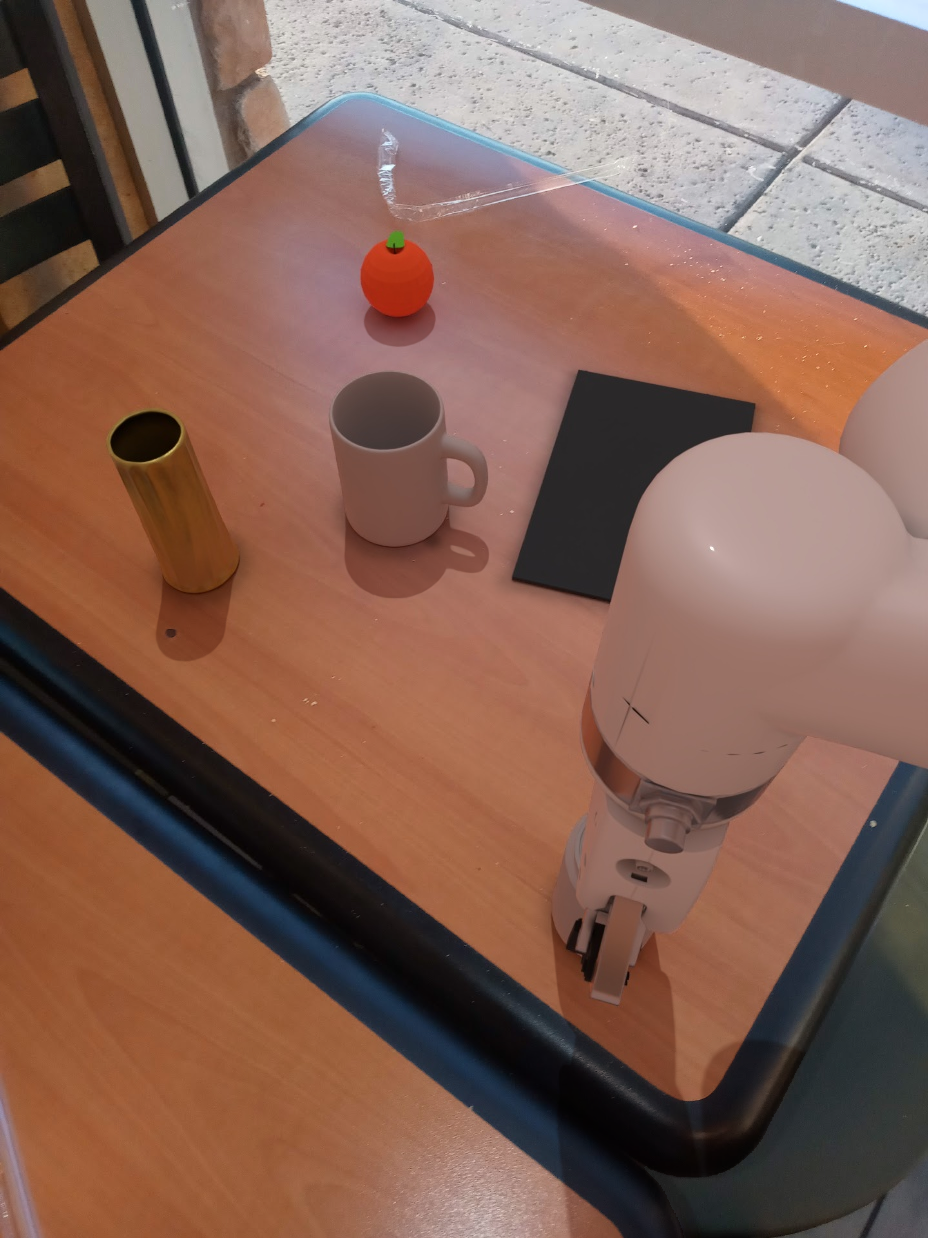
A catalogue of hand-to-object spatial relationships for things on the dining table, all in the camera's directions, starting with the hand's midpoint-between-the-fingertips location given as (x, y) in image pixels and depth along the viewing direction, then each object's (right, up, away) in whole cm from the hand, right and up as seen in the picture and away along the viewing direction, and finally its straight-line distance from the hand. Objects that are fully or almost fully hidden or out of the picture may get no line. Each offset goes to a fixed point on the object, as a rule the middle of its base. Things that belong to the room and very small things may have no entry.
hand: (615, 862), depth 48 cm
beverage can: (+1, -6, +9) cm, 10 cm away
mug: (-12, +22, +26) cm, 36 cm away
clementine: (-14, +43, +40) cm, 61 cm away
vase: (-29, +17, +24) cm, 41 cm away
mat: (+7, +24, +27) cm, 37 cm away
